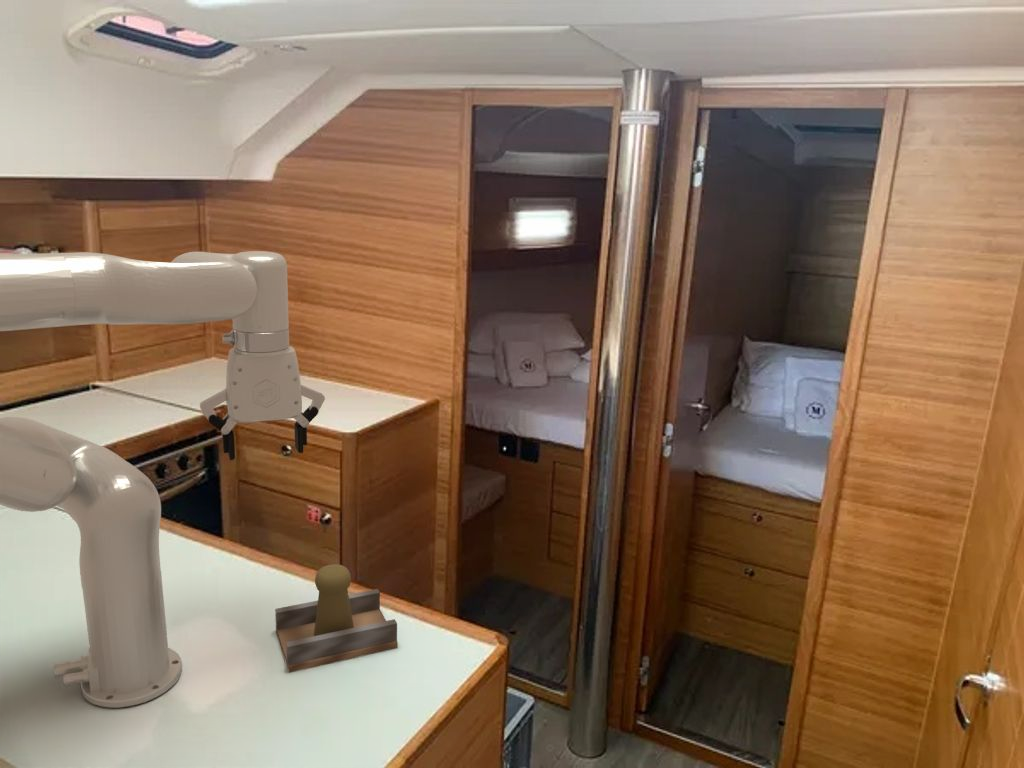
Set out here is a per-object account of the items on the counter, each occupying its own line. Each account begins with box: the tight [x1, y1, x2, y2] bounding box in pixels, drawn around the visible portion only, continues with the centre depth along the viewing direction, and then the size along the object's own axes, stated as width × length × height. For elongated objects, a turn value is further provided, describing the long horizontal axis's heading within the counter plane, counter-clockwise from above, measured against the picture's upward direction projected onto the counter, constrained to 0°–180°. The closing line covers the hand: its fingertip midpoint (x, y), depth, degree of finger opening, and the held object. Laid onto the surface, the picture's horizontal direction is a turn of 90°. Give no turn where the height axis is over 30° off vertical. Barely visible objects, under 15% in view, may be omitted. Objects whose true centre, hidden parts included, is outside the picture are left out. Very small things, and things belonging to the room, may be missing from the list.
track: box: [274, 588, 399, 673], centre depth 121 cm, size 16×11×4 cm
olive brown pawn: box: [314, 563, 354, 636], centre depth 120 cm, size 6×6×11 cm
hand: (265, 453), depth 118 cm, fingers open, 9 cm apart
